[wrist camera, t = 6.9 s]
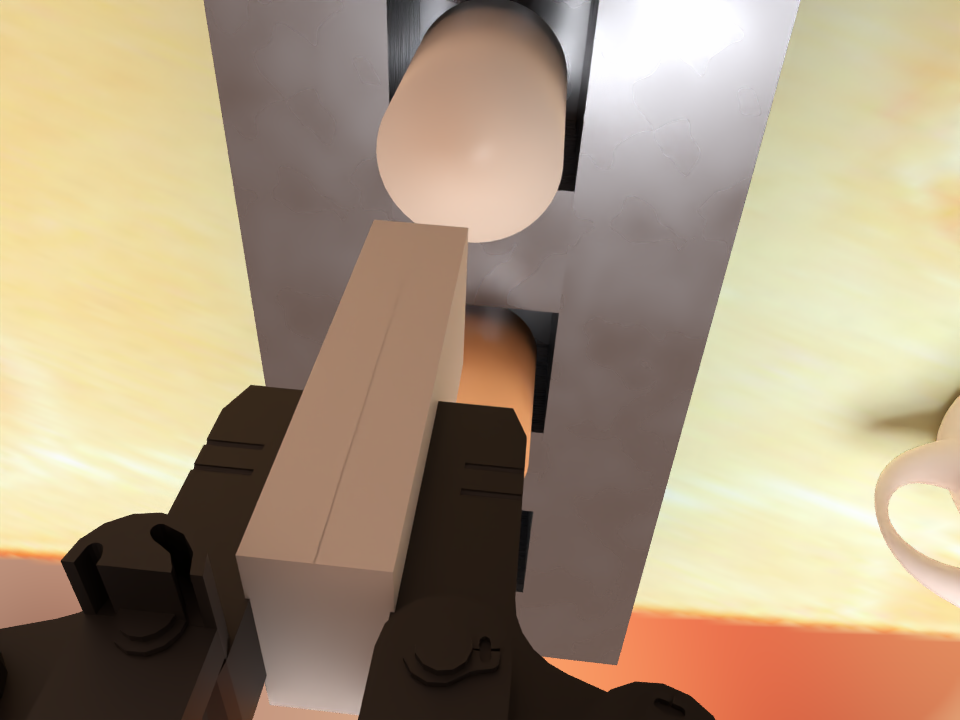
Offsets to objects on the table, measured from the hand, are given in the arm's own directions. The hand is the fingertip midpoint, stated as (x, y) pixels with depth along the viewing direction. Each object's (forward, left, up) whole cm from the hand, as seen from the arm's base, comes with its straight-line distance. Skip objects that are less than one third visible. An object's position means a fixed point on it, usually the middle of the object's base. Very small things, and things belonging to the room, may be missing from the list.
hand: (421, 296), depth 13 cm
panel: (+9, 0, -15) cm, 17 cm away
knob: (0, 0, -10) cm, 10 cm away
